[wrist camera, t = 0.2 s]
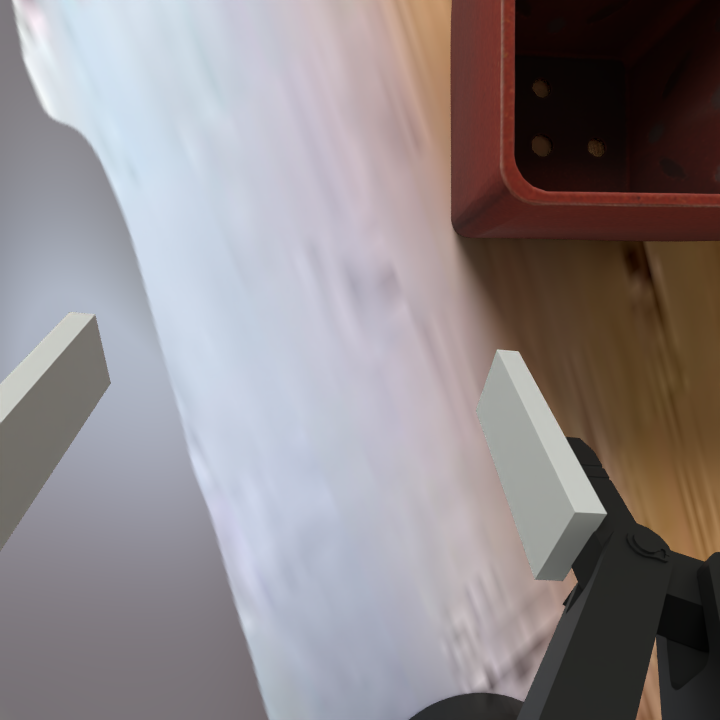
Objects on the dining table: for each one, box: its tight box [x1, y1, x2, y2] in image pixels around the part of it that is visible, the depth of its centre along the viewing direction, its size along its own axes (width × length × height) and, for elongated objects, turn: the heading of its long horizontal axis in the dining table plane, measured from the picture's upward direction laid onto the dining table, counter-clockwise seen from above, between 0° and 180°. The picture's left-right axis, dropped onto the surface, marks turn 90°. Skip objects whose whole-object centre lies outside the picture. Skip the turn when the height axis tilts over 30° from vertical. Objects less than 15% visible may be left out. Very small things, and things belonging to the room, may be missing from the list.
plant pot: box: [451, 0, 720, 241], centre depth 25 cm, size 19×19×17 cm
